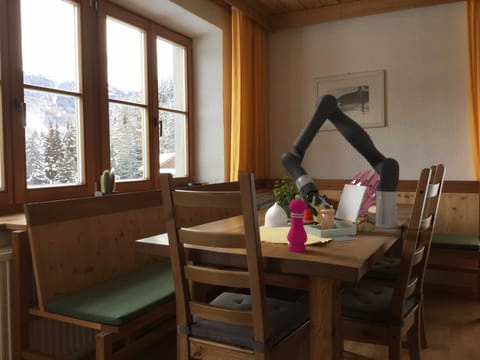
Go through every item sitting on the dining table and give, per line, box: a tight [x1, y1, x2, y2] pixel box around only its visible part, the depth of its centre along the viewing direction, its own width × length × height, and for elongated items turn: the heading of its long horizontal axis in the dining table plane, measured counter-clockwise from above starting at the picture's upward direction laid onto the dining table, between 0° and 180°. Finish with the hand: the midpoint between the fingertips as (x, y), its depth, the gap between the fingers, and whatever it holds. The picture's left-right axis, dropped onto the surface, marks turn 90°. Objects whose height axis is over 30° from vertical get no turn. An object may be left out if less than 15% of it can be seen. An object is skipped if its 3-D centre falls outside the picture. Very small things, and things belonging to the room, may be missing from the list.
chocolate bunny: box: [357, 210, 377, 233], centre depth 190 cm, size 6×8×10 cm
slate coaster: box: [326, 235, 359, 244], centre depth 171 cm, size 9×9×1 cm
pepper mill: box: [286, 194, 308, 253], centre depth 153 cm, size 7×7×20 cm
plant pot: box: [312, 204, 334, 224], centre depth 206 cm, size 10×10×10 cm
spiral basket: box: [347, 168, 380, 218], centre depth 239 cm, size 28×28×27 cm
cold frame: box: [303, 183, 367, 238], centre depth 183 cm, size 23×14×21 cm, turn 114°
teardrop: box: [264, 201, 289, 228], centre depth 205 cm, size 11×11×12 cm
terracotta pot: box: [320, 208, 336, 230], centre depth 183 cm, size 6×6×10 cm
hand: (324, 214), depth 185 cm, fingers open, 8 cm apart
